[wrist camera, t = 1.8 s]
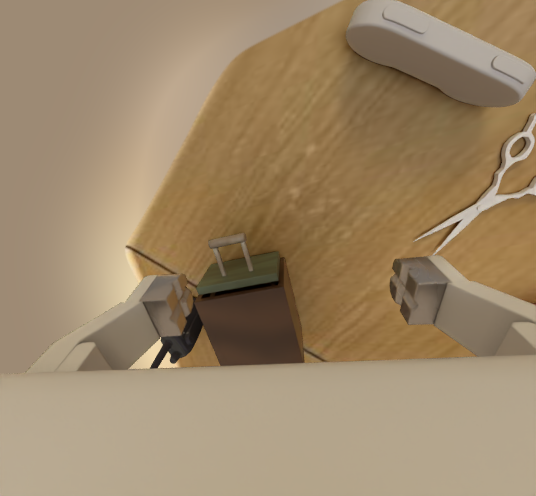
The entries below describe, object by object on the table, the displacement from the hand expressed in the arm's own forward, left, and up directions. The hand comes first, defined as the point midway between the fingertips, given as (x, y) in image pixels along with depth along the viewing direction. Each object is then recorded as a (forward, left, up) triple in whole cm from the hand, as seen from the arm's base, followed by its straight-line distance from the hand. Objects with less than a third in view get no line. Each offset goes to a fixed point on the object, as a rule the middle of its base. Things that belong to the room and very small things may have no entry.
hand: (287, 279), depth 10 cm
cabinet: (-19, +9, -28) cm, 35 cm away
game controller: (+9, -18, -28) cm, 34 cm away
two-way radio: (-18, +20, -28) cm, 39 cm away
